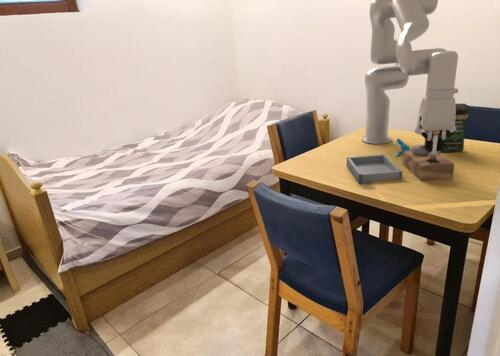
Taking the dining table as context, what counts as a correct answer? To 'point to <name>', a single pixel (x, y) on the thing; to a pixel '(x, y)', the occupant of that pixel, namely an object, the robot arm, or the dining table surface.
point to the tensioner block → (427, 165)
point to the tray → (373, 168)
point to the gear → (402, 147)
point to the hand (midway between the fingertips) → (433, 150)
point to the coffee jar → (456, 131)
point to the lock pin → (434, 147)
